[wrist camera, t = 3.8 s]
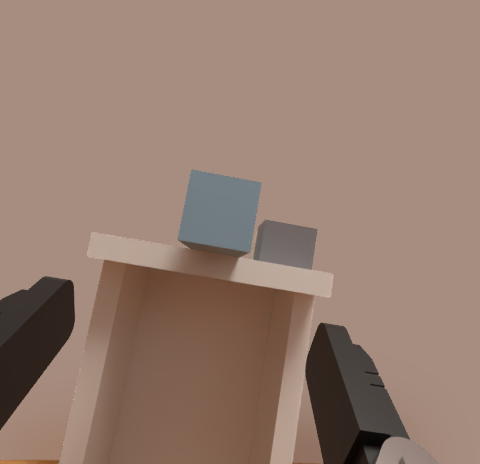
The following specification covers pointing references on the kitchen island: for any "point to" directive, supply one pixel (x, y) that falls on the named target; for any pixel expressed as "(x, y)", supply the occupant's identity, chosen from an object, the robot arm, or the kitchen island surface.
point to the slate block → (219, 214)
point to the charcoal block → (285, 244)
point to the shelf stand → (191, 358)
